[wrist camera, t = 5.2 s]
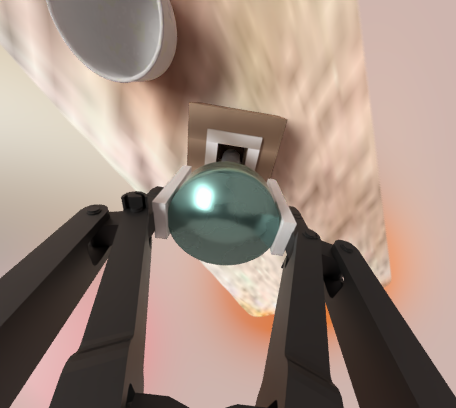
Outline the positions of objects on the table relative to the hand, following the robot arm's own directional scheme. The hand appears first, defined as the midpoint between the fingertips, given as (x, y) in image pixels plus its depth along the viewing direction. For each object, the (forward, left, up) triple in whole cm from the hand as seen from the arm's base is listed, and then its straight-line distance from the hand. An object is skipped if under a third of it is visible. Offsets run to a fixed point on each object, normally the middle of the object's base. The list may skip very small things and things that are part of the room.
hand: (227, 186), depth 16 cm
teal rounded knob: (0, 0, -9) cm, 9 cm away
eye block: (0, 0, -15) cm, 15 cm away
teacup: (-13, -15, -15) cm, 25 cm away
